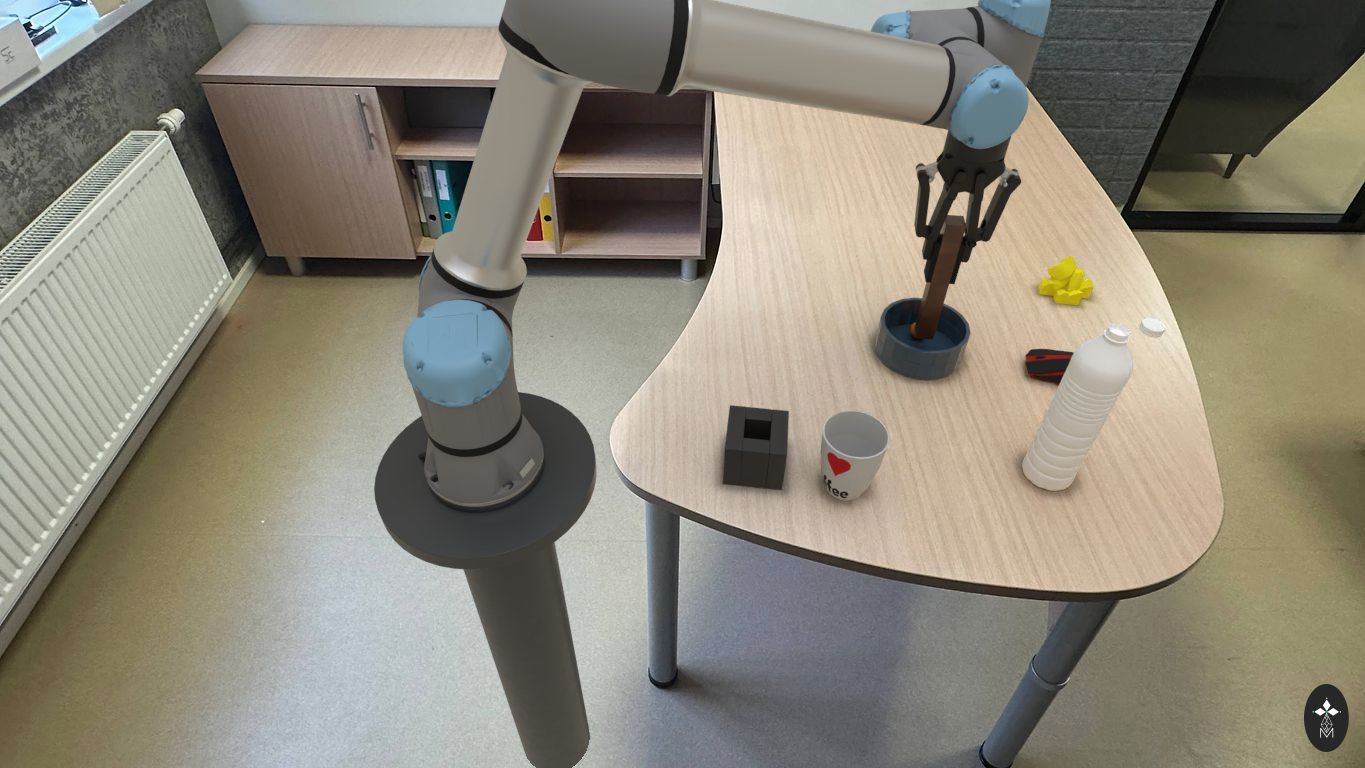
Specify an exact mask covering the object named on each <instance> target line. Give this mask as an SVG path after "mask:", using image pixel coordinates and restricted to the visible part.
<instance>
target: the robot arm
mask: <svg viewBox="0 0 1365 768" xmlns="http://www.w3.org/2000/svg"><path fill="white" fill-rule="evenodd" d="M1051 3H1052V1H1051V0H978V2H977V5H976V6H968V7H965V8H964V7H962V8H949V9H948V8H947V9H928V10H912V11H911V9H906V10H905V11H899V12H892V13H886V14H883V15H881V16H879V17H878V18H877V19H876V20H875V22H873V25H872V27H871V29H870V30H864V29H859V28H855V27H849V26H845V25H841V24H839V25H838V24H834V23H829V22H826V21H825V22H824V21H820V20H814V19H810V18H805V17H800V16H794V15H789V14H784V13H780V12H774V11H770V10H764V9H759V8H755V7H748V6H744V5H739V4H734V3H728V2H723V1H719V0H505V2H504V6H503V8H502V9H503V10H502V13H501V17H500V20H499V24H498V27H497V34H498V36H499V38H500V40H501V42H502V45H504V47H505V51H506V54H505V58H504V61H503V64H502V67H501V70H500V74H499V76H498V80H497V83H496V87H495V90H494V93H493V97H492V99H491V103H490V106H489V109H488V112H487V116H486V120H485V123H484V125H483V129H482V132H481V136H480V139H479V143H478V146H477V149H476V152H475V155H474V159H473V162H472V166H471V169H470V172H469V176H468V179H467V181H466V186H465V188H464V192H463V195H462V199H461V202H460V204H459V209H458V211H457V215H456V217H455V222H454V225H453V227H452V230H451V231H448V232H445V233H443V234H441V235H440V236H439V237H438V238H437V239H436V240H435V243H434V245H433V249H432V252H431V255H430V256H429V257H428V259H427V260H426V262H425V264H424V266H423V268H422V270H421V273H420V277H419V282H418V303H417V304H418V306H417V316H416V317H415V318H413V320H412V321H411V322H410V323H409V324H408V326H407V328H406V331H405V333H404V335H403V339H402V355H403V360H402V361H403V367H404V370H405V372H406V376H407V379H408V380H409V383H410V385H411V388H412V390H413V393H414V397H415V399H416V402H417V406H418V408H419V412H420V414H421V415H420V416H422V418H423V421H424V424H425V427H426V430H427V433H428V436H429V438H428V445H427V451H426V452H423V453H420V454H419V455H418V458H419V459H421V460H422V459H425V464H424V471H425V476H426V479H427V482H428V485H429V487H430V490H431V492H432V493H433V495H434V496H435V497H436V498H437V499H438V500H439V501H440V502H441V503H443V504H444V505H446V506H448V507H450V508H452V509H455V510H458V511H462V512H470V513H482V512H490V511H494V510H498V509H502V508H504V507H507V506H509V505H511V504H513V503H515V502H517V501H519V500H520V499H522V498H523V497H524V496H526V495H527V494H528V493H529V492H530V491H531V490H532V489H533V488H534V487H535V486H536V484H537V483H538V481H539V480H540V478H541V476H542V473H543V470H544V466H545V456H544V450H543V445H542V441H541V439H540V437H539V435H538V434H537V432H536V431H535V430H534V429H533V428H532V427H531V425H530V424H529V422H528V421H527V419H526V418H525V417H524V415H523V414H522V411H521V405H520V400H519V395H518V392H519V390H518V385H517V380H516V379H517V378H516V372H515V363H514V339H513V337H514V336H513V315H514V310H515V307H516V305H517V304H516V303H517V301H518V299H519V296H520V293H521V291H522V288H523V286H524V283H525V280H526V277H527V274H528V269H527V266H526V262H525V261H524V259H523V258H522V253H523V251H524V248H525V245H526V242H527V239H528V237H529V234H530V232H531V229H532V226H533V223H534V221H535V218H536V216H537V213H538V211H539V208H540V205H541V202H542V200H543V197H544V194H545V191H546V189H547V186H548V183H549V181H550V178H551V176H552V173H553V170H554V167H555V165H556V163H557V160H558V157H559V155H560V152H561V149H562V146H563V144H564V141H565V137H566V136H567V132H568V130H569V127H570V125H571V122H572V120H573V117H574V114H575V111H576V109H577V106H578V103H579V100H580V98H581V96H582V92H583V90H584V87H585V86H587V85H589V84H593V83H595V84H599V85H603V86H608V87H612V88H619V89H623V90H627V91H633V92H639V93H644V94H650V95H651V94H652V95H659V96H664V97H671V96H673V95H674V94H676V93H678V91H680V90H681V89H683V88H688V89H689V88H690V89H695V90H702V91H709V92H714V93H720V94H725V95H726V94H727V95H732V96H739V97H744V98H745V97H746V98H752V99H758V100H763V101H768V102H769V101H771V102H776V103H783V104H789V105H793V106H794V105H795V106H800V107H806V108H807V107H808V108H815V109H818V110H819V109H821V110H826V111H832V112H839V113H844V114H850V115H858V116H864V117H870V118H874V119H875V118H876V119H883V120H887V121H888V120H889V121H895V122H901V123H907V124H914V125H918V126H919V125H920V126H924V127H925V126H926V127H931V128H935V129H943V130H946V131H947V132H946V137H945V141H944V145H943V149H942V151H941V153H940V154H939V155H938V156H937V158H936V161H934V162H931V163H929V164H924V163H922V162H920V163H918V164H916V166H915V172H916V178H917V181H918V187H917V197H916V205H915V207H916V208H915V215H914V224H913V226H914V232H915V236H916V237H917V238H923V239H924V240H923V245H922V248H921V254H922V260H925V265H924V269H923V276H924V281H925V283H926V282H929V283H931V281H932V277H933V273H934V270H935V266H936V262H937V259H938V255H939V251H940V248H941V240H940V235H939V234H940V231H941V229H942V227H943V224H944V222H945V220H946V217H947V215H949V213H950V210H951V208H952V205H953V204H954V201H956V199H957V198H958V194H960V193H968V194H969V195H968V201H967V209H966V216H965V224H966V228H965V232H964V235H963V239H962V242H961V245H960V248H959V252H958V255H957V259H956V262H955V266H954V269H953V273H952V276H951V279H950V283H949V285H955V284H956V280H957V277H958V274H959V270H960V268H961V265H962V263H968V262H969V261H970V259H971V255H972V252H973V249H974V248H976V246H977V243H978V242H981V241H982V242H984V243H985V242H986V243H987V242H989V241H990V240H991V239H992V236H993V235H994V232H995V230H996V228H997V226H998V224H999V221H1000V219H1001V217H1002V215H1003V213H1004V210H1005V209H1006V206H1007V204H1008V201H1009V199H1010V197H1011V195H1012V194H1013V193H1014V192H1015V191H1016V189H1017V188H1018V187H1020V185H1021V184H1022V179H1021V176H1020V174H1019V170H1018V169H1017V168H1012V169H1010V168H1009V167H1007V166H1006V163H1005V158H1006V155H1007V153H1008V149H1009V145H1010V142H1011V138H1012V135H1014V134H1015V133H1016V131H1017V130H1018V129H1019V127H1020V126H1021V124H1022V122H1023V121H1024V120H1025V117H1026V114H1027V113H1028V109H1029V101H1030V99H1029V93H1028V89H1027V86H1028V83H1029V79H1030V76H1031V73H1032V70H1033V68H1034V64H1035V61H1036V58H1037V55H1038V52H1039V49H1040V46H1041V43H1042V40H1043V38H1045V31H1046V27H1047V22H1048V18H1049V14H1050V9H1051V5H1052V4H1051ZM937 173H938V174H939V175H940V177H941V179H942V181H943V185H942V190H941V192H940V195H939V197H938V200H937V202H936V205H935V207H934V210H933V212H932V214H931V217H930V220H929V222H928V224H927V221H928V220H927V219H928V212H929V211H928V210H929V204H930V195H931V183H933V181H934V180H935V178H936V177H935V176H936V174H937ZM997 179H998V184H997V186H996V188H995V190H994V193H993V195H992V196H991V197H992V198H991V200H990V202H989V204H988V206H987V209H986V211H985V213H984V215H983V218H982V220H981V222H980V217H981V216H980V215H981V209H982V202H983V200H984V194H985V189H987V188H988V187H989V186H990V185H991V184H992V183H993V182H995V181H996V180H997ZM979 222H980V224H979Z"/></svg>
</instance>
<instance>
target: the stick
mask: <svg viewBox="0 0 1365 768" xmlns="http://www.w3.org/2000/svg"><path fill="white" fill-rule="evenodd" d="M965 223H966V219H965V216H964V215H956V214H955V215H954V214H948V215H947V217H946V220H945V222H944V224H943V227H942V229H941V231H940V234H939V235H940V240H941V248H940V251H939V255H938V259H937V262H936V266H935V270H934V273H933V277H932V281H931V283H929V282H926V281H925V286H924V289H923V294H922V296H921V298H922V301H921V304H920V308H919V312H918V316H917V319H916V323H915V327H914V329H915V336H916V338H921V339H933V338H934V335H935V331H936V328H937V324H938V321H939V317H940V314H941V311H942V307H943V304H945V300H946V296H947V293H948V289H949V287H950V286H949V285H950V284H949V283H950V279H951V276H952V273H953V269H954V266H955V262H956V259H957V255H958V252H959V248H960V245H961V242H962V239H963V235H965V233H964V232H965V228H966V224H965Z"/></svg>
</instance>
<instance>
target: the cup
mask: <svg viewBox="0 0 1365 768" xmlns="http://www.w3.org/2000/svg"><path fill="white" fill-rule="evenodd" d="M821 432H822V433H821V442H820V443H821V444H820V454H819V455H820V468H821V469H820V473H821V477H822V480H823V484H824V488H825V490H826V492H827V493H828V494H829V495H830V496H831V497H832V498H835V499H837V500H839V501H840V500H841V501H846V502H847V501H854V500H856V499H858V498H860V497H861V495H862V494H863V493H864V492H865V491H866V490H867V489H868V488H869V486H870V485H871V483H872V482H873V480H874V479H875V477H876V475H877V474H878V471H879V469H880V468H881V466H882V463H883V460H884V458H885V455H886V452H887V450H888V447H889V444H890V437H891V436H890V433H889V431H888V428H887V426H886V425H885V424H884V423H883V422H882V420H880V419H879V418H878V417H876V416H874V415H872V414H870V413H868V412H864V411H861V410H853V409H852V410H851V409H847V410H846V409H845V410H841V411H840V410H839V411H837V412H835V413H833V414H831V415H830V416H829V417H827V418H826V420H825V422H824V424H823V426H822V431H821Z"/></svg>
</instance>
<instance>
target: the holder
mask: <svg viewBox="0 0 1365 768" xmlns="http://www.w3.org/2000/svg"><path fill="white" fill-rule="evenodd" d="M728 409H729V410H728V418H727V426H726V435H725V443H724V445H725V446H724V453H723V454H724V456H723V468H722V469H723V471H722V485H728V486H737V487H738V486H739V487H747V488H748V487H749V488H757V489H766V490H767V489H768V490H777V491H782V490H783V484H784V479H785V472H786V465H787V457H788V440H789V420H790V419H789V417H790V412H789V410H786V409H785V410H784V409H783V410H782V409H773V408H762V407H752V406H751V407H750V406H743V405H732V404H731V405H729V408H728Z"/></svg>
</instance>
